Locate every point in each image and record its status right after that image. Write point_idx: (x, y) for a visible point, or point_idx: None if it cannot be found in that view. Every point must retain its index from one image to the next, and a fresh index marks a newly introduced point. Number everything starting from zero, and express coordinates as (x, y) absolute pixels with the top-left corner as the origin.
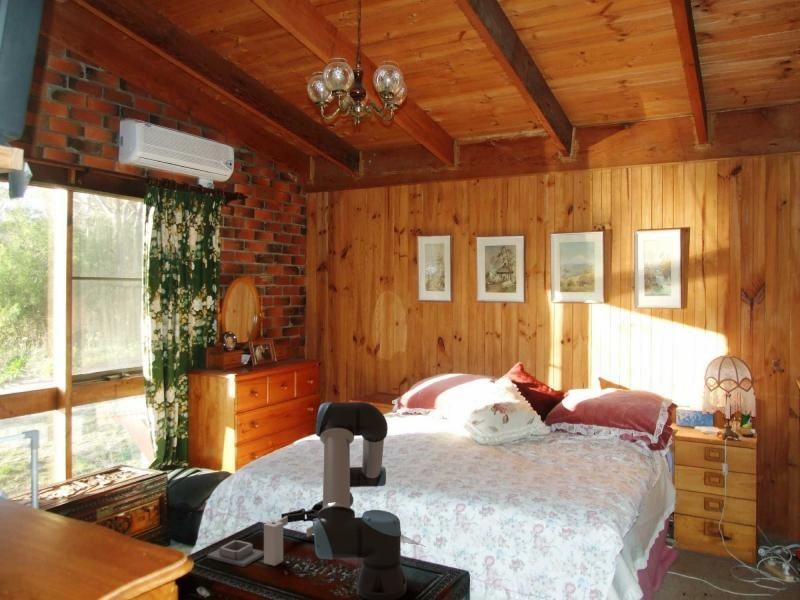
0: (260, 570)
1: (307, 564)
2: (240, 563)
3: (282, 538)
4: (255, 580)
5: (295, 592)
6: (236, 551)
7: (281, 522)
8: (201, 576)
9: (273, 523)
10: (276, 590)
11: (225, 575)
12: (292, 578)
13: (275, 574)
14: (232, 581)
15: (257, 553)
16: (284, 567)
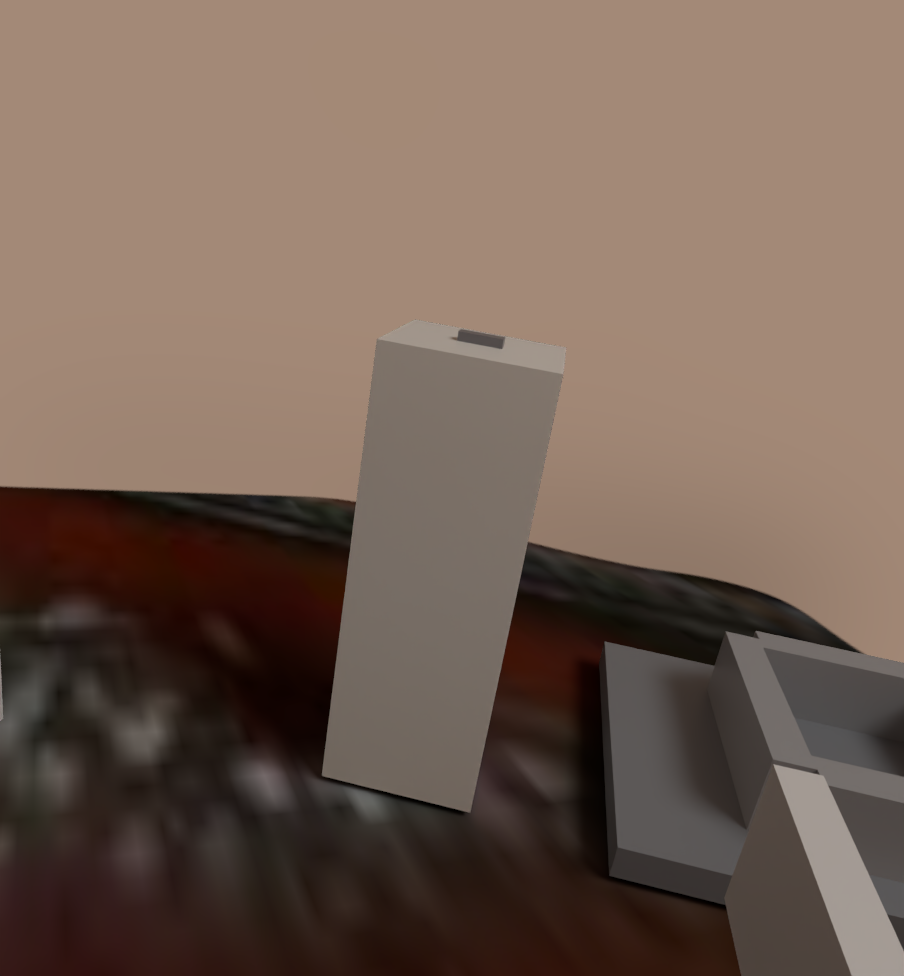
0: None
1: (9, 751)
2: (637, 651)
3: (354, 535)
4: None
5: (105, 494)
6: (754, 639)
7: (398, 341)
8: (735, 589)
9: (476, 338)
10: (227, 507)
11: (622, 598)
12: (149, 580)
13: (300, 611)
14: (527, 559)
15: (662, 801)
16: (262, 689)
